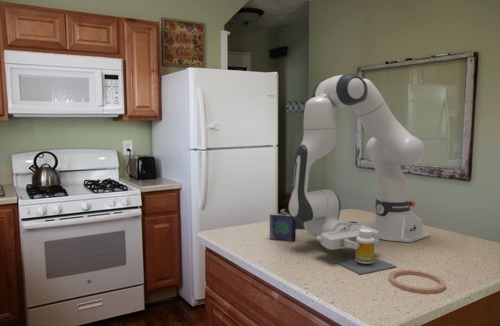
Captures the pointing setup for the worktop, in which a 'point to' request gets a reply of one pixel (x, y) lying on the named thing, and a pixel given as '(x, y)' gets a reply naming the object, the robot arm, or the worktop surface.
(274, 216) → the flask
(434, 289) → the segmented terracotta ring
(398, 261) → the worktop surface
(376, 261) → the mat
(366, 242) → the supplement bottle
